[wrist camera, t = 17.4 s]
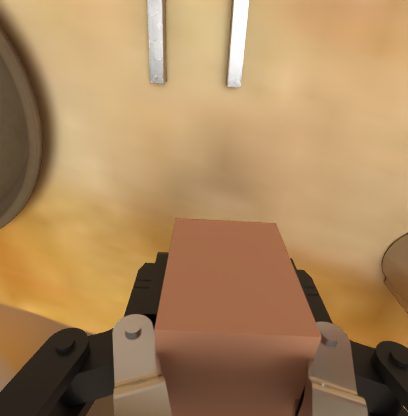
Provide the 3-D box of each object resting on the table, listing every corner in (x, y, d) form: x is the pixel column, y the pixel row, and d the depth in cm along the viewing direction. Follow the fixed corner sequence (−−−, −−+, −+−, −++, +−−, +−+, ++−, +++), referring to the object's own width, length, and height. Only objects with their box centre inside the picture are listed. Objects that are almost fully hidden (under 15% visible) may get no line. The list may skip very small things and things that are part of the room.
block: (252, 342, 17) (273, 474, 12) (174, 339, 17) (159, 470, 12) (275, 223, 13) (321, 336, 8) (175, 218, 13) (154, 329, 8)
